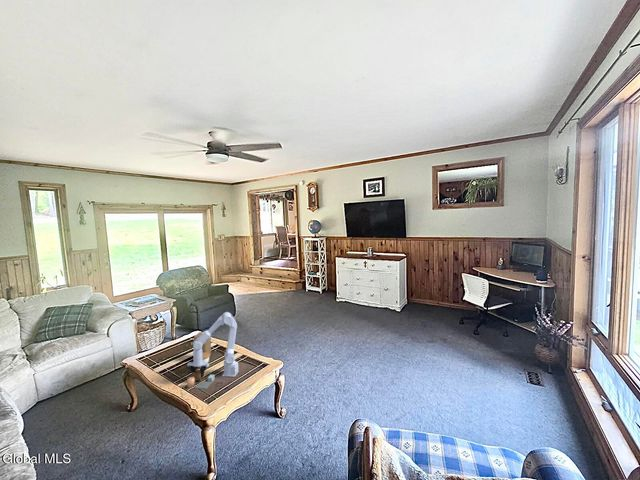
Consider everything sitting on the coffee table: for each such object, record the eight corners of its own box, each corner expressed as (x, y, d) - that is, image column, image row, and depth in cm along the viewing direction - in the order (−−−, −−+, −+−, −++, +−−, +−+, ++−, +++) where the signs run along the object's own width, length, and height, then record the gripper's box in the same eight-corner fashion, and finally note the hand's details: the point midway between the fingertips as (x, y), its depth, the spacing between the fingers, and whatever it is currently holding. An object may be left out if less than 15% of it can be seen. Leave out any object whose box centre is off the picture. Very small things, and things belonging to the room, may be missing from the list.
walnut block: (203, 376, 197) (203, 369, 196) (200, 380, 192) (199, 373, 191) (197, 376, 197) (196, 369, 197) (193, 380, 192) (192, 373, 192)
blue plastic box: (214, 379, 196) (214, 374, 196) (211, 382, 192) (211, 377, 192) (210, 378, 196) (210, 374, 196) (207, 381, 192) (207, 377, 192)
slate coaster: (212, 382, 191) (212, 381, 191) (206, 389, 183) (206, 388, 183) (201, 381, 192) (201, 381, 192) (194, 388, 184) (194, 387, 184)
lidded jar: (193, 369, 208) (193, 357, 208) (195, 362, 219) (195, 351, 218) (208, 367, 211) (208, 355, 211) (210, 361, 222) (210, 349, 221)
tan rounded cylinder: (195, 384, 189) (195, 377, 189) (192, 388, 185) (192, 380, 184) (189, 383, 190) (189, 376, 189) (186, 387, 185) (185, 380, 185)
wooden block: (211, 355, 231) (211, 332, 230) (206, 361, 221) (205, 336, 220) (199, 355, 231) (199, 331, 230) (193, 361, 221) (193, 336, 220)
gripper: (210, 354, 197) (211, 373, 198) (191, 354, 198) (191, 372, 199) (205, 359, 190) (206, 379, 191) (185, 358, 191) (186, 378, 192)
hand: (198, 376), depth 194 cm, fingers closed on walnut block, 5 cm apart
